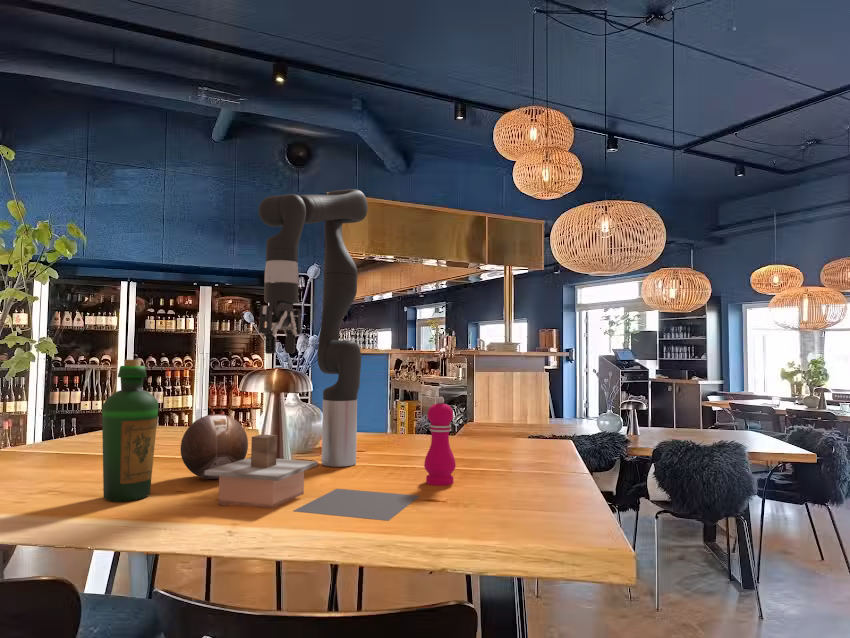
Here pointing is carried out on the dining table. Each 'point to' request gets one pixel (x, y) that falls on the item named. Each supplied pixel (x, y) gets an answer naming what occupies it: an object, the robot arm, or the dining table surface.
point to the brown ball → (213, 444)
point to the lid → (262, 463)
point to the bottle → (129, 436)
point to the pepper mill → (440, 445)
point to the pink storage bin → (259, 491)
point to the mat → (359, 504)
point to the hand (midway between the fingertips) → (280, 353)
